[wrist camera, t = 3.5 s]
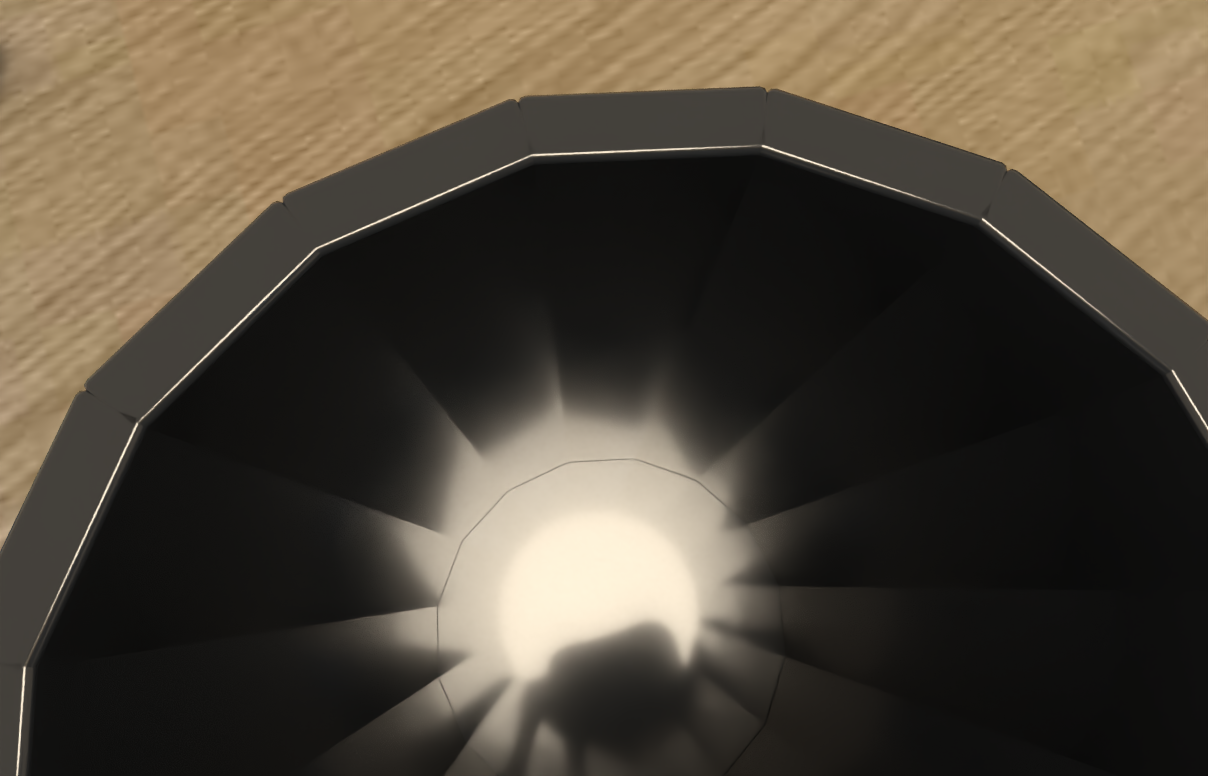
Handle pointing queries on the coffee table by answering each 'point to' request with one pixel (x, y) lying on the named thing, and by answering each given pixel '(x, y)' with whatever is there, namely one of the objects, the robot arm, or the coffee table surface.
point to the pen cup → (631, 473)
